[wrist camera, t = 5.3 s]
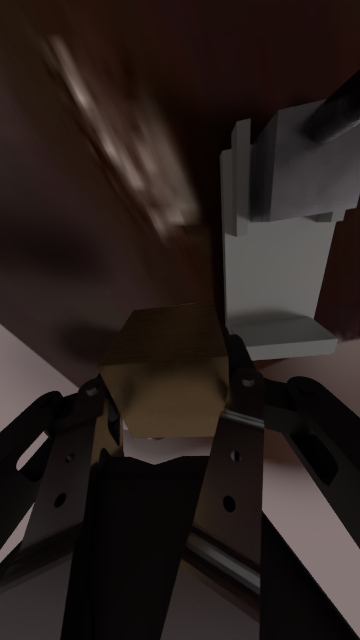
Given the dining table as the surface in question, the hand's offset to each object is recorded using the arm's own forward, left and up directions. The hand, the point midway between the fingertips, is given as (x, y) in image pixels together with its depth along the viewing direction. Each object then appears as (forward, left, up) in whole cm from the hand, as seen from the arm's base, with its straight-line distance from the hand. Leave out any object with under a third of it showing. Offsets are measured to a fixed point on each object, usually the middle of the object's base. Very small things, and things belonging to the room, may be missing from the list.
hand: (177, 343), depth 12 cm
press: (-11, -2, -13) cm, 17 cm away
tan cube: (0, 0, -1) cm, 1 cm away
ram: (-11, -9, -11) cm, 18 cm away
